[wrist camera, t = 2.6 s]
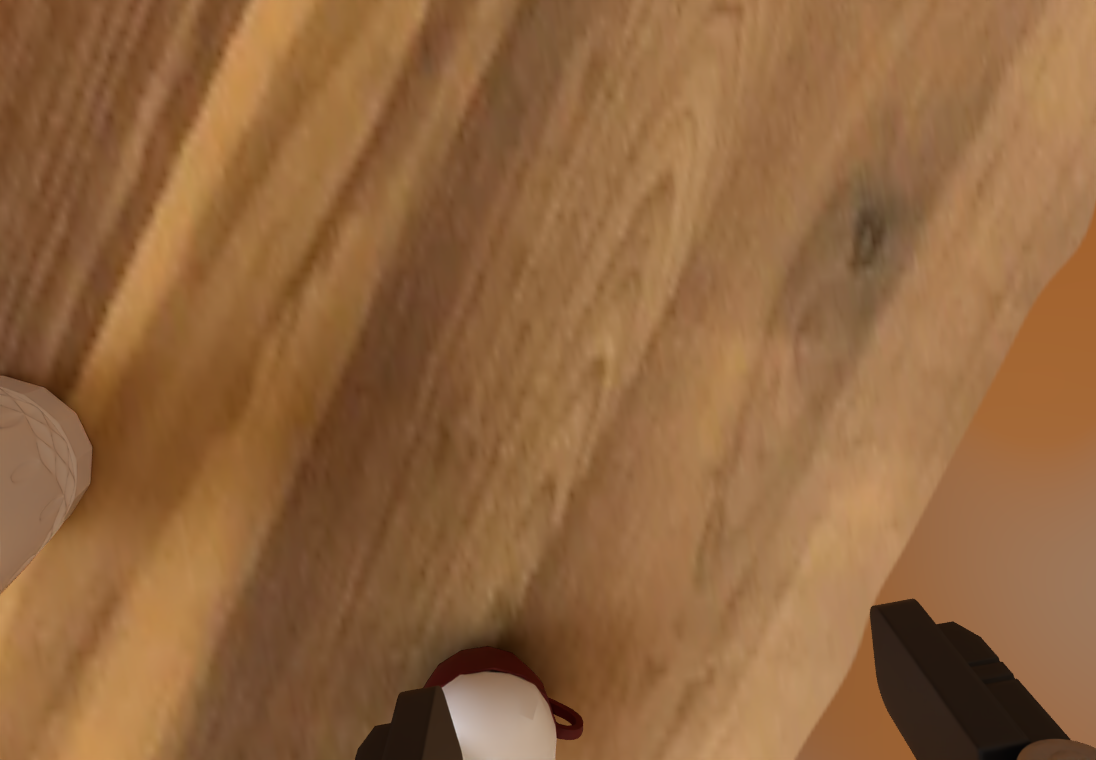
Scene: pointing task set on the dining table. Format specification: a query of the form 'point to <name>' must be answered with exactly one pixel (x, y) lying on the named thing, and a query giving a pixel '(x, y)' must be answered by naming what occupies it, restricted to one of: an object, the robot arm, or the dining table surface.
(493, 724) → the cocoa
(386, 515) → the dining table surface
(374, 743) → the robot arm
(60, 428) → the white cup
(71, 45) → the dining table surface
